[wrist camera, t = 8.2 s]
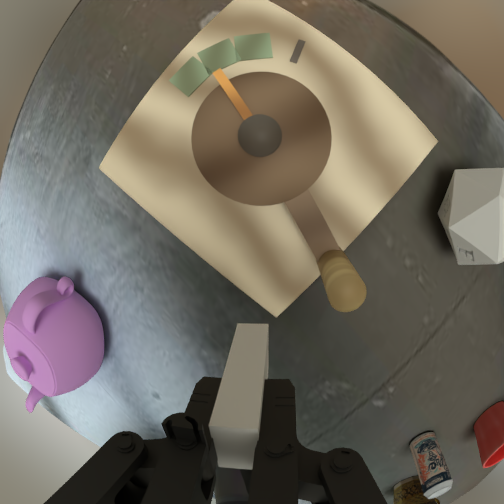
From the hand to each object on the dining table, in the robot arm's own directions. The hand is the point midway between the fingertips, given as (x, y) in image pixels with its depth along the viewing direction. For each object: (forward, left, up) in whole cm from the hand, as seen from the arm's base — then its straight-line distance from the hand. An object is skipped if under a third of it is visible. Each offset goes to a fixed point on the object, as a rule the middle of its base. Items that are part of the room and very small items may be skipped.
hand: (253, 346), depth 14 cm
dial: (+7, +4, -11) cm, 14 cm away
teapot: (-24, +13, -13) cm, 30 cm away
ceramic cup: (-17, -59, -13) cm, 62 cm away
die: (+17, -11, -13) cm, 24 cm away
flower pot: (+5, -52, -13) cm, 53 cm away
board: (+8, +7, -12) cm, 16 cm away
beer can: (-6, -40, -13) cm, 42 cm away
